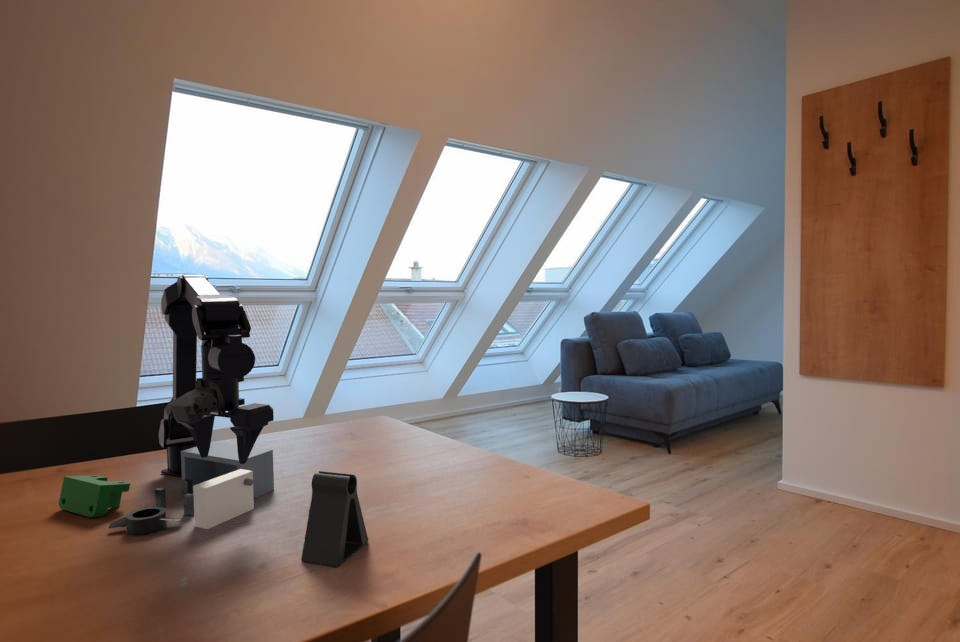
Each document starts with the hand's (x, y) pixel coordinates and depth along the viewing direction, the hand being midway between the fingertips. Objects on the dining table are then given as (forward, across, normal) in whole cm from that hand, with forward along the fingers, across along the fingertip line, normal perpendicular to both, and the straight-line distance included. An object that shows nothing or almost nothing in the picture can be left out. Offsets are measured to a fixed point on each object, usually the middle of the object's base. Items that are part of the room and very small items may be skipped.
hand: (223, 460), depth 103 cm
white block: (+10, 0, 0) cm, 10 cm away
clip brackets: (+10, -10, +1) cm, 14 cm away
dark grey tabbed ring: (+10, -8, -9) cm, 16 cm away
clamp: (+10, -25, -7) cm, 28 cm away
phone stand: (+10, +27, -3) cm, 29 cm away
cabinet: (+10, -10, +10) cm, 17 cm away
